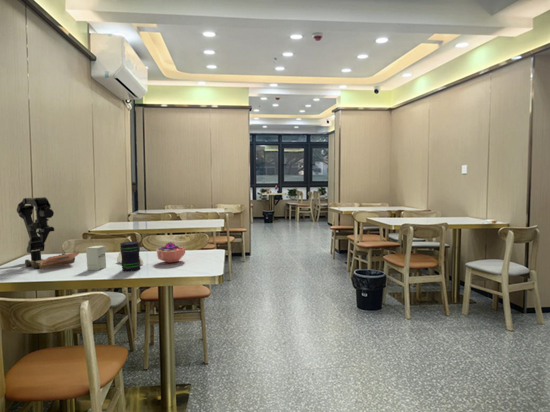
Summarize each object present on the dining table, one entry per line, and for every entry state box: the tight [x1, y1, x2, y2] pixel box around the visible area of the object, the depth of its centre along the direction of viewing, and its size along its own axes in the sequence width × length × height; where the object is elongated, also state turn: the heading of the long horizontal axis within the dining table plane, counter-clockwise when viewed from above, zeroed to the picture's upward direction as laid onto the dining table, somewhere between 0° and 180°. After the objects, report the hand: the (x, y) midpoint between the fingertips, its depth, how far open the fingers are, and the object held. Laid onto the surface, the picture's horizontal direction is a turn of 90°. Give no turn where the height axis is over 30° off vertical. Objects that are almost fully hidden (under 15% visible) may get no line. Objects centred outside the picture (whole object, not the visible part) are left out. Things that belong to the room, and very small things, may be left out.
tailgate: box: [42, 251, 80, 265], centre depth 246 cm, size 2×17×11 cm
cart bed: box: [24, 252, 76, 270], centre depth 255 cm, size 18×23×4 cm
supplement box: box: [85, 245, 107, 271], centre depth 235 cm, size 7×7×13 cm
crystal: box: [116, 251, 144, 266], centre depth 247 cm, size 7×7×24 cm
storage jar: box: [119, 241, 142, 273], centre depth 229 cm, size 10×10×15 cm
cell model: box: [155, 242, 186, 264], centre depth 246 cm, size 17×20×11 cm
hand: (43, 242), depth 259 cm, fingers closed
